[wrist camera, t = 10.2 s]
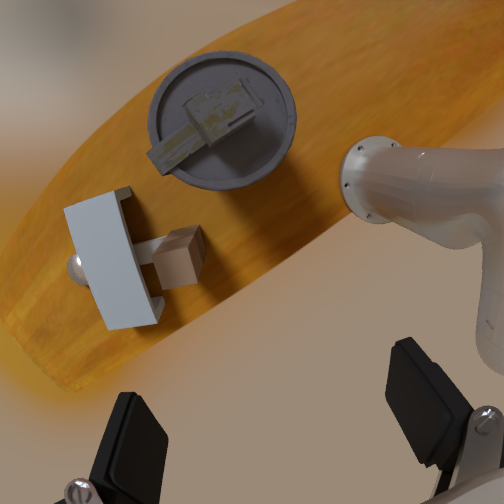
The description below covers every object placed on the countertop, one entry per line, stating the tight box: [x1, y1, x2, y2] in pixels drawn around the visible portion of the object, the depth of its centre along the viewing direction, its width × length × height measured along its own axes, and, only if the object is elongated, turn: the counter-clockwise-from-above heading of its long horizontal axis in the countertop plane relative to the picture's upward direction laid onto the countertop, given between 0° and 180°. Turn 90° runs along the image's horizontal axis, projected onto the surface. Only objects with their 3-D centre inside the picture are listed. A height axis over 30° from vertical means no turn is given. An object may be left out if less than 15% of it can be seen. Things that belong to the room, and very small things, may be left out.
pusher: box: [132, 225, 206, 290], centre depth 33 cm, size 16×4×10 cm, turn 101°
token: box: [67, 253, 88, 285], centre depth 38 cm, size 5×5×2 cm
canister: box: [146, 50, 297, 191], centre depth 25 cm, size 11×10×20 cm
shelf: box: [64, 186, 165, 330], centre depth 35 cm, size 8×18×6 cm, turn 11°
